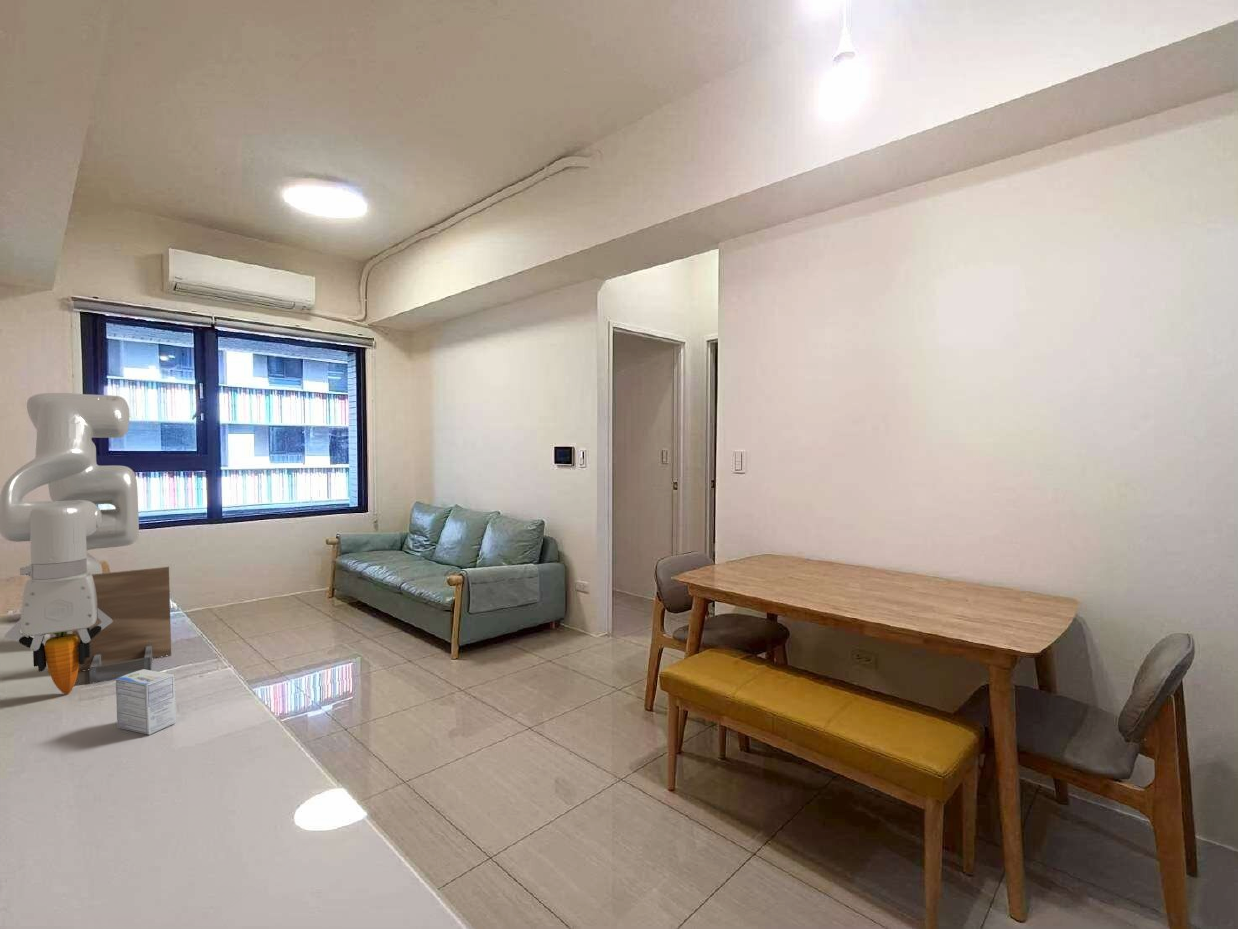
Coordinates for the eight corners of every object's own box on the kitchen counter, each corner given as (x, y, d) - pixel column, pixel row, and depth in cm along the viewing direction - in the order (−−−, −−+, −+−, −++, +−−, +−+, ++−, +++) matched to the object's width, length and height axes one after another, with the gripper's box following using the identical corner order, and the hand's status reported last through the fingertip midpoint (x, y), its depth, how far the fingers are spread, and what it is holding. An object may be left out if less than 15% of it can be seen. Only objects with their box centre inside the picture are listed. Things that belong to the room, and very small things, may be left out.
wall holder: (74, 670, 120) (71, 576, 120) (171, 653, 130) (168, 566, 129) (66, 688, 112) (63, 586, 111) (170, 668, 121) (168, 575, 121)
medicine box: (176, 724, 97) (175, 673, 97) (147, 736, 93) (146, 684, 93) (145, 717, 100) (144, 668, 100) (116, 728, 96) (114, 677, 95)
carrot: (90, 690, 110) (82, 614, 109) (56, 702, 106) (48, 623, 104) (77, 686, 112) (69, 611, 111) (43, 697, 108) (35, 620, 107)
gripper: (-12, 580, 99) (-8, 683, 100) (118, 567, 110) (120, 661, 110) (-1, 572, 105) (2, 670, 106) (121, 561, 116) (123, 650, 116)
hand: (62, 664), depth 108 cm, fingers closed on carrot, 4 cm apart
